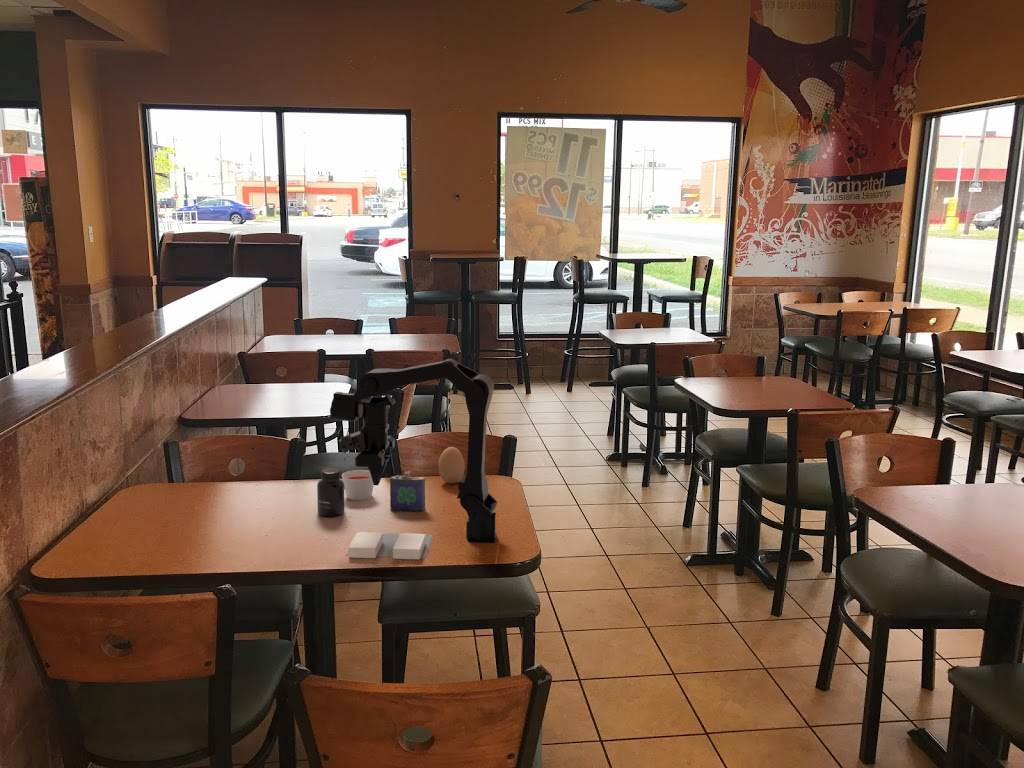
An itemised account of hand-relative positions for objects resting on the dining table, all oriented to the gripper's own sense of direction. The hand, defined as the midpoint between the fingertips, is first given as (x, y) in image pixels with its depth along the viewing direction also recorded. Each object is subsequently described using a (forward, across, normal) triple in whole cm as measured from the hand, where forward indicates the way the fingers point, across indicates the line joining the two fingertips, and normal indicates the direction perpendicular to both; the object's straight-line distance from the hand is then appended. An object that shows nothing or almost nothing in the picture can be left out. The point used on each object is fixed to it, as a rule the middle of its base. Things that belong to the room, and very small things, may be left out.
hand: (376, 484), depth 210 cm
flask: (+12, -16, +5) cm, 21 cm away
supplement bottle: (+12, -11, -14) cm, 22 cm away
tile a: (+10, +8, +10) cm, 16 cm away
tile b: (+10, +8, 0) cm, 13 cm away
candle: (+12, -26, -10) cm, 30 cm away
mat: (+12, +10, +5) cm, 16 cm away
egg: (+12, -40, +14) cm, 44 cm away
